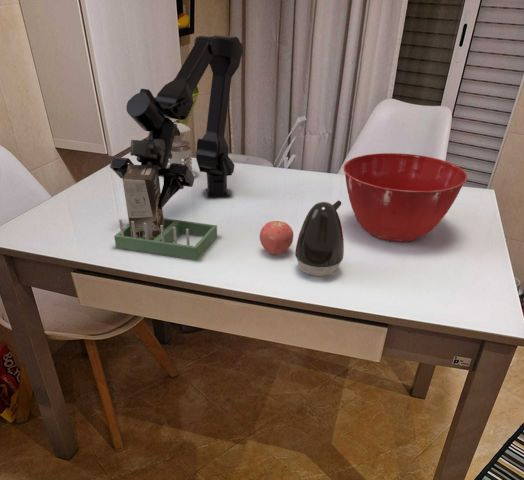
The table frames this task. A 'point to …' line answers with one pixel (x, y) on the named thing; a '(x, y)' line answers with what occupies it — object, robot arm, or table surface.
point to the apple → (276, 237)
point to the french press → (177, 149)
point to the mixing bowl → (401, 193)
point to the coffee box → (143, 200)
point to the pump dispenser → (320, 240)
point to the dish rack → (169, 239)
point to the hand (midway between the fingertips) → (144, 206)
